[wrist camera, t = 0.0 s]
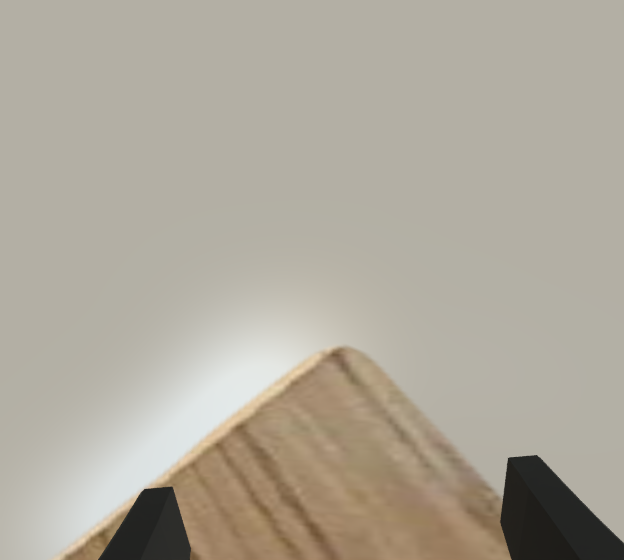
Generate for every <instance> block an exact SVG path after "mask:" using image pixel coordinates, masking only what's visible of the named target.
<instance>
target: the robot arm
mask: <svg viewBox="0 0 624 560" xmlns="http://www.w3.org/2000/svg"><path fill="white" fill-rule="evenodd" d="M500 523H501V526H502V530H503V533H504V536H505V540H506V543H507V546H508V550H509V553H510V556H511V559H512V560H624V543H623V542H622V541H621V540H620V539H619V538H618V537H617V536H616V535H615V534H614V533H613V532H612V531H611V530H610V529H609V528H607V526H606V525H604V524H603V523H602V522H601V521H600V520H599V519H598V518H597V517H596V516H595V515H594V514H593V513H592V512H591V511H590V510H589V509H588V507H587V506H586V505H585V504H584V503H583V502H582V501H581V500H580V499H579V498H578V497H577V496H576V495H575V494H574V493H573V492H572V491H571V490H570V489H569V488H568V487H567V486H566V485H565V484H564V483H563V482H562V481H561V479H560V478H559V477H558V476H557V475H556V474H555V473H554V472H553V471H552V470H551V469H550V468H549V467H548V466H547V464H546V463H544V462H543V460H542V459H541V458H540V457H538V456H537V455H534V456H522V457H510V458H508V463H507V472H506V479H505V488H504V496H503V504H502V512H501V520H500ZM190 552H191V547H190V544H189V541H188V537H187V534H186V530H185V527H184V524H183V520H182V517H181V514H180V510H179V507H178V503H177V500H176V497H175V493H174V490H173V487H163V488H151V489H144V490H143V491H142V492H141V493H140V495H139V496H138V498H137V500H136V501H135V503H134V505H133V506H132V508H131V509H130V511H129V513H128V514H127V516H126V517H125V519H124V521H123V522H122V524H121V525H120V527H119V529H118V530H117V532H116V533H115V535H114V536H113V538H112V539H111V541H110V543H109V544H108V546H107V547H106V549H105V550H104V552H103V553H102V555H101V556H100V558H99V559H98V560H190Z"/></svg>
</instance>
